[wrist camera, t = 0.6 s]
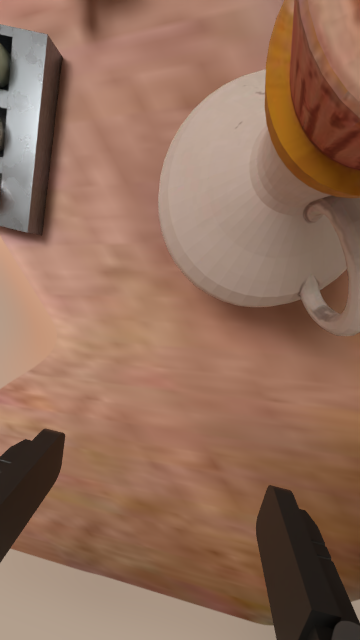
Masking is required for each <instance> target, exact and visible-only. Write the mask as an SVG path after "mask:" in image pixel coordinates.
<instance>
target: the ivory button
mask: <svg viewBox="0 0 360 640" xmlns="http://www.w3.org/2000/svg"><path fill="white" fill-rule="evenodd" d="M5 130H6V124H5V122H4V121H3V119H2V118H1V117H0V151H1V150H3V149H4V143H5Z"/></svg>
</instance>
